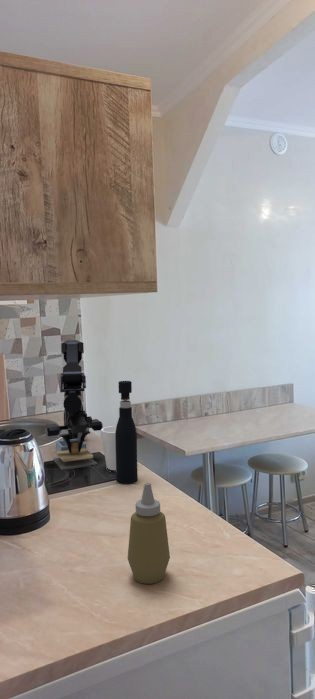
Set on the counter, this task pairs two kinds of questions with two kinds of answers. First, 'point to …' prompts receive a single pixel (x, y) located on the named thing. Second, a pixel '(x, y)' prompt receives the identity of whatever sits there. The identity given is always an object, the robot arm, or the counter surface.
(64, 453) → the lid
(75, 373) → the robot arm
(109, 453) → the foam cup
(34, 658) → the counter surface
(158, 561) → the squeeze bottle
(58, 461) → the mat
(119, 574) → the counter surface
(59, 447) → the dish
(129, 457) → the black bottle
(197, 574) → the counter surface
